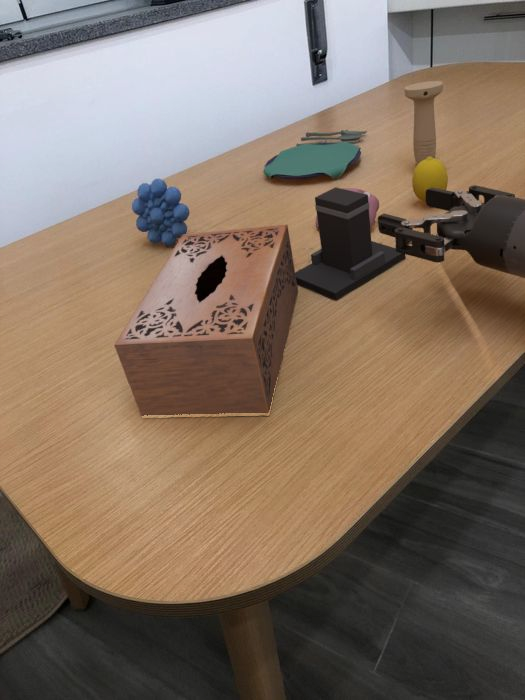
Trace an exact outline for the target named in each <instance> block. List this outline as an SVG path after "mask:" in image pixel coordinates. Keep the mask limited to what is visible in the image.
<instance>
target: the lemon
mask: <svg viewBox="0 0 525 700" xmlns="http://www.w3.org/2000/svg"><path fill="white" fill-rule="evenodd" d="M448 181H449V177H448V171H447V168H446V166H445V165H444V163H443V162H442V161H441V160H439V159H437V158H435V159H434V158H432V157H427V158H426V159H425V160H423V161H421V162H420V163H419V164H418V165H417V166H416V165H415V168H414V170H413V174H412V180H411V184H412V191H413V194H414V195H415V197H416V198H417V199H418V200H419V201H421V202H423V203H426V194H425V192H426V190H427V189H429V188H431V187H433V188H438V189H442V190H447V189H448V183H449V182H448Z"/></svg>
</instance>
